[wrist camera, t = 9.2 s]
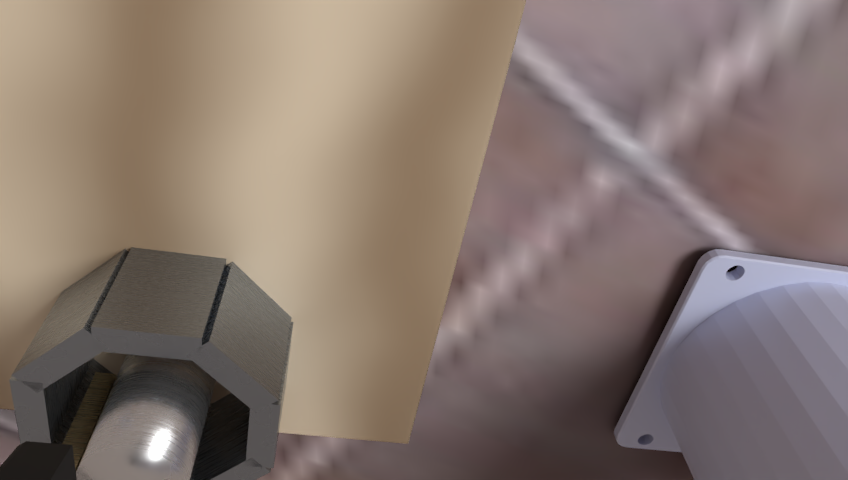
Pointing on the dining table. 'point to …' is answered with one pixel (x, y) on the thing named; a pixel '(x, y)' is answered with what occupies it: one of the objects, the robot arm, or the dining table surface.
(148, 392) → the steel post
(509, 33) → the board
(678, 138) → the dining table surface
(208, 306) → the ring hub
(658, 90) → the dining table surface
